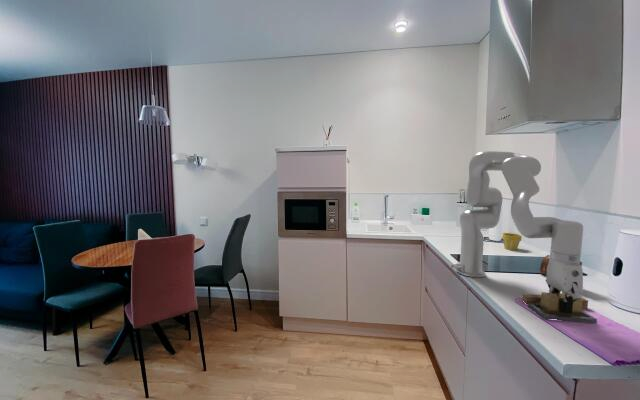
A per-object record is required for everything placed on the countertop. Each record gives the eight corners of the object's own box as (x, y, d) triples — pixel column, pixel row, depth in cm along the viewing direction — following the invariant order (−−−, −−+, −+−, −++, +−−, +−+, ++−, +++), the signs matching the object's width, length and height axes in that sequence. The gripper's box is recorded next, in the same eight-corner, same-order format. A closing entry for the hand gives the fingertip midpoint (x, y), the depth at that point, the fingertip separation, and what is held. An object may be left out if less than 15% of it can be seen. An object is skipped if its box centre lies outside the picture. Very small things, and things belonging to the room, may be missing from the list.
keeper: (545, 320, 87) (545, 315, 87) (528, 306, 96) (528, 302, 96) (596, 323, 85) (597, 319, 85) (574, 309, 94) (574, 305, 94)
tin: (547, 268, 136) (548, 253, 136) (555, 270, 134) (556, 254, 133) (538, 275, 127) (540, 258, 127) (547, 277, 125) (548, 260, 124)
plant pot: (524, 250, 170) (525, 235, 169) (511, 251, 168) (512, 236, 167) (509, 246, 180) (510, 232, 179) (497, 247, 178) (498, 233, 177)
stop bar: (581, 316, 88) (582, 299, 88) (548, 314, 89) (549, 297, 89) (571, 310, 92) (573, 294, 92) (539, 308, 93) (541, 292, 93)
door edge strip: (526, 304, 98) (527, 296, 98) (522, 301, 100) (522, 293, 100) (587, 308, 95) (588, 300, 95) (581, 305, 97) (582, 297, 97)
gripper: (599, 266, 80) (594, 323, 82) (558, 250, 97) (554, 298, 98) (572, 264, 81) (567, 321, 83) (535, 249, 98) (532, 297, 99)
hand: (560, 308), depth 91 cm, fingers open, 4 cm apart
